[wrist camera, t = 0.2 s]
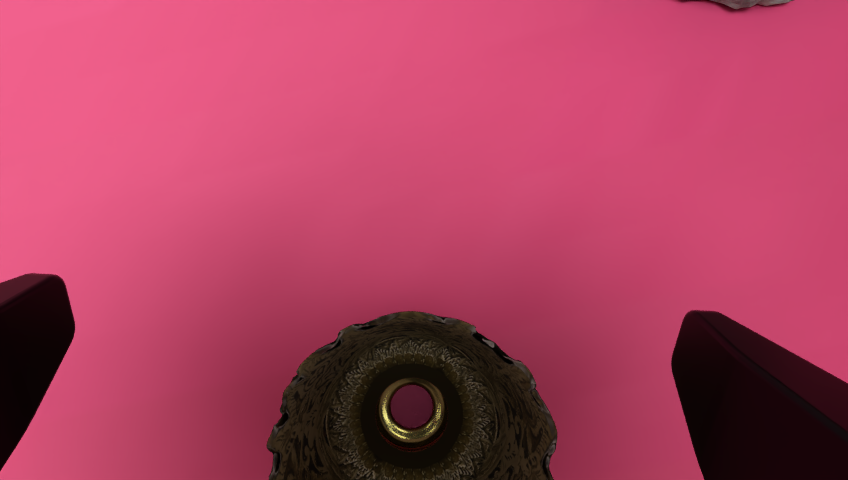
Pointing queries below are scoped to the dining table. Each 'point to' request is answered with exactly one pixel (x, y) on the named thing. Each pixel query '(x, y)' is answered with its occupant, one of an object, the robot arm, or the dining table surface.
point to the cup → (440, 436)
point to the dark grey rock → (749, 2)
